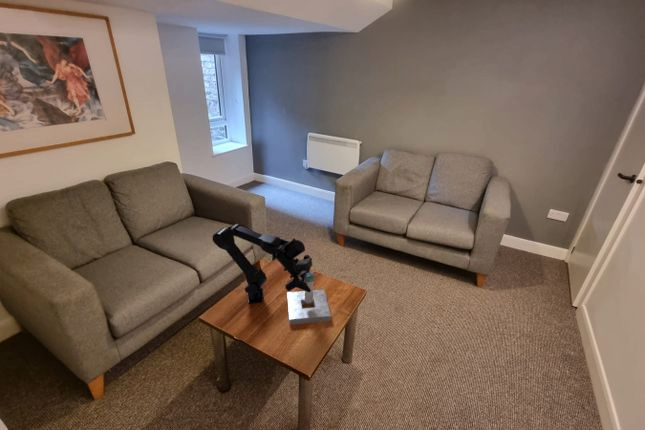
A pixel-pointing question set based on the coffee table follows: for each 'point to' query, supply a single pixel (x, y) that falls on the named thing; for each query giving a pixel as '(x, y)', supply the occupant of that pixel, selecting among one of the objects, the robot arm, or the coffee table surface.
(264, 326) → the coffee table surface
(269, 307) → the coffee table surface
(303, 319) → the housing
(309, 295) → the plug
